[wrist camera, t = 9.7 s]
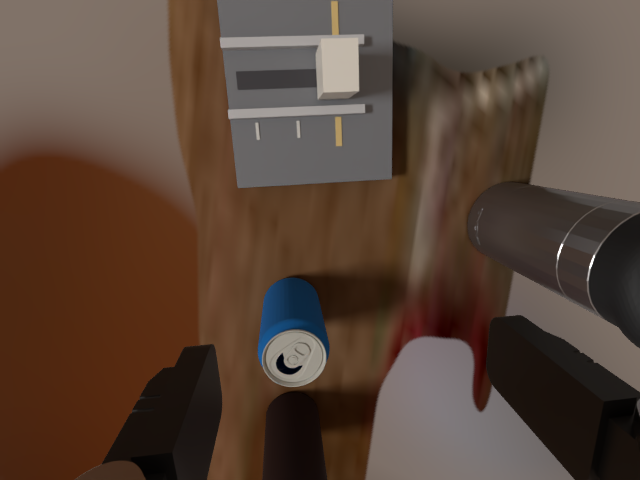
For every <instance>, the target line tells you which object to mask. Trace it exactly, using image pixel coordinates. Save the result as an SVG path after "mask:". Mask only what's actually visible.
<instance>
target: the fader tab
mask: <svg viewBox="0 0 640 480" xmlns="http://www.w3.org/2000/svg"><path fill="white" fill-rule="evenodd" d="M316 76H317V97H318V100H330V99H349V98H350V97H352V96H353V95H354V94H356V93H357V92H359V53H358V38H324V39H321V40H320V43H319V46H318V49H317V51H316Z"/></svg>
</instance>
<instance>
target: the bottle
mask: <svg viewBox="0 0 640 480" xmlns="http://www.w3.org/2000/svg"><path fill="white" fill-rule="evenodd" d="M262 480H327V475H326V467H325V460H324V452H323V445H322V437H321V430H320V422H319V415H318V410H317V406H316V404H315V403H314V401H313V400H312V399H311V398H310V397H308V396H307V395H305V394H301V393H286V394H283V395H281V396H279V397H277V398H275V399H274V400H273V402H272V403H271V404H270V405H269V408H268V410H267V412H266V429H265V446H264V462H263V479H262Z"/></svg>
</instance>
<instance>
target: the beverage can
mask: <svg viewBox="0 0 640 480" xmlns="http://www.w3.org/2000/svg"><path fill="white" fill-rule="evenodd" d="M328 356H329V341H328V337H327V333H326V328H325V324H324V320H323V315H322V311H321V307H320V303H319V298H318V295H317V292H316V290H315V289H314V287H313V286H312V285H311V284H309V283H308V282H306V281H304V280H302V279H299V278H285V279H282V280H279V281H277V282H276V283H274V284H273V285H272V286H271V287H270V288H269V289H268V291H267V293H266V295H265V297H264V303H263V312H262V320H261V328H260V336H259V345H258V357H259V361H260V363H261V365H262V367H263V369H264V371H265V373H266V374H267V376H268V377H269V378H270V379H271V380H272V381H274V382H275V383H277V384H280V385H282V386H287V387H298V386H303V385H306V384H308V383H310V382H312V381H313V380H315V379H316V378H317V377H318V376H319V375H320V374H321V372H322V371H323V369H324V367H325V364H326V362H327V359H328Z"/></svg>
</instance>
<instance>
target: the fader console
mask: <svg viewBox="0 0 640 480" xmlns="http://www.w3.org/2000/svg"><path fill="white" fill-rule="evenodd" d="M217 4H218V13H219V22H220V31H221V38H220V45H221V49H222V50H223V58H224V67H225V76H226V85H227V94H228V103H229V110H228V117H229V119H230V122H231V131H232V140H233V149H234V158H235V167H236V176H237V185H238V188H247V187H264V186H281V185H298V184H314V183H331V182H348V181H364V180H381V179H392V73H393V0H217ZM324 38H358V53H359V92H357V93H356V94H354V95H353V96H352V97H350V98H349V99H330V100H318V97H317V76H316V51H317V49H318V46H319V43H320V40H321V39H324Z"/></svg>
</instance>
